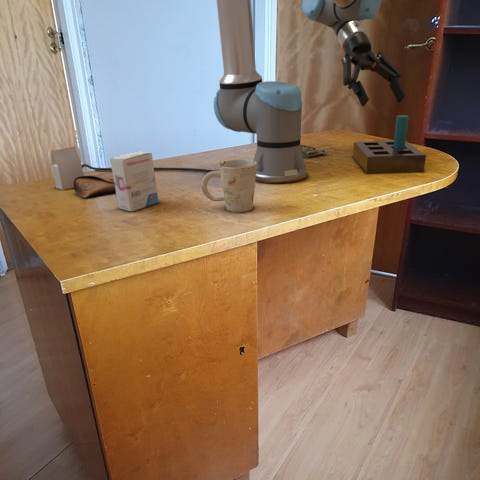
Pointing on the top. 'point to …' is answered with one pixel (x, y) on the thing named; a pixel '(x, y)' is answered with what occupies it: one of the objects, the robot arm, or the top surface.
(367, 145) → the peg board
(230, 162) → the mug
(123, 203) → the ink box
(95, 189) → the sunglasses case
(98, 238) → the top surface
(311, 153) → the keyboard
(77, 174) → the grey box
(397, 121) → the peg
